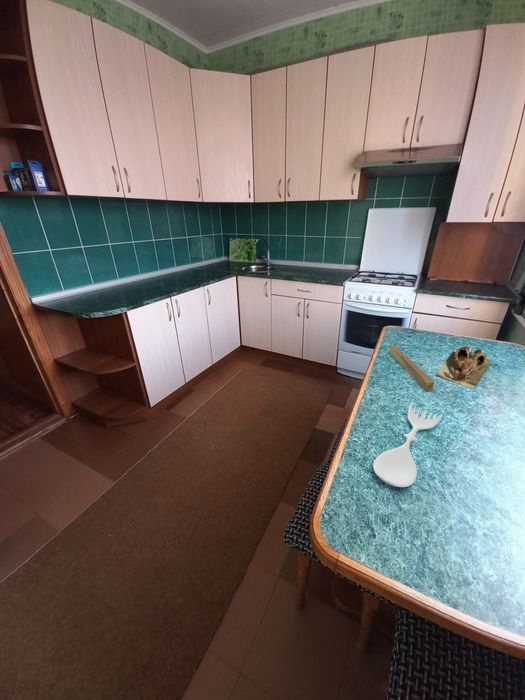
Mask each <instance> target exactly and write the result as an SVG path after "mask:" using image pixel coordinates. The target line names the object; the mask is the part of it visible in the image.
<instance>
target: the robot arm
mask: <svg viewBox="0 0 525 700" xmlns="http://www.w3.org/2000/svg"><path fill="white" fill-rule="evenodd" d="M512 293H513V294H515V295H517V298H516V300H515V303H514V304H515V306H514V308H513V312H512V314H514V315H516V316H519V317H520V316H522V315H523V312H524V311H525V265H524V266H523V271H522V273H521V275H520V277H519V279H518V281H517V284H516V286H515V287H514V289H513V292H512Z"/></svg>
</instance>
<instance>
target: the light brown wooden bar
mask: <svg viewBox="0 0 525 700" xmlns="http://www.w3.org/2000/svg"><path fill="white" fill-rule="evenodd" d="M389 354H390V356H392V357H393V358H394V359H395V361H396V362H397V363H398V364H399V365H400V366H401V367H402V368H403V369H404V370H405V371H406V372H407V373H408V375H410V376H411V377H412V379H414V381H415V382H416V383H417V384H419V386H420V387H421V388H422V389H423V390H424V391H425V392H432V391H433V389H434V385H435V381H434V380H432V378H430V377H429V375H428V374H427V373H425V372H424V371H423V370H422V368H420V367H419V365H417V364H416V363H415V362H414V361H413V360H412V359H411V358H410V357H409V356H407V354H405V352H404V351H403V350H402V349H400V348H399V347H398V346H397V344H391V345H390V347H389Z"/></svg>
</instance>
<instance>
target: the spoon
mask: <svg viewBox="0 0 525 700" xmlns="http://www.w3.org/2000/svg"><path fill="white" fill-rule="evenodd" d="M416 410H417V405H415V406H414V407H413V402H410V404H409V406H408V410H407V420H408V421H409V423H410V425H411V426H412V429H411V430H410V432H409V433H405V434H403V437H404V438H405V439H406V441H405V442H404V443H403V444H402V445H400V446H397V447H395V448H391V449H388V450H385V451H383V452H381V453H379V454H378V456H376V458H375V459H374V461H373V463H372V464H373V465H372V467H373V471H374V473H375V474H376V476H377V477H378V478H379V479H380V480H381V481H382V482H384V483H385V484H387V485H389V486H392V487H395V488H406V487H410V486H411V485H413V484H414V483H415V482H416V478H417V474H418V470H417V465H416V462H415V460H414V457H413V456H412V453H411V450H410V445H411V442H413V443H415V442H417V441H418V438H417V437H416V434H417V433H418V431H423V430H424V431H425V430H430V429H432V428H434V427H435V426H436V425H437V424H438V423H439V422H440V421H441V420H442V418H443V413H441V414H440V415H439V416H438V417H437V415H438V413H437V412H436V413H435V414H434V415H433V412H430V414H429V415H428V417H427V411H426V410H424V411H423V412H422V413H421V415H420V411H421V407H419V408H418V410H417V411H416ZM432 416H433V417H432ZM426 417H427V418H426Z"/></svg>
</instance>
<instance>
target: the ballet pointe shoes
mask: <svg viewBox="0 0 525 700" xmlns="http://www.w3.org/2000/svg"><path fill="white" fill-rule="evenodd" d="M492 361H493V359H492V358H487V356H486V353H485V351H484V350H483V349H481V348H480V349H476V350H474V351H473V350H472V348H471V347H470V346H461V347H459V348H458V349H453V351H452V352H451V353H450V354H449V356H448V357H447V359H446V360H445V362H443V364H442V365H441V367H440V368H439V369H438V371H437V372H436V373H435V376H436V377H438V378H442V379H445V380H448V381H451V382H453V383H457V384H460V385H462V386H465V387H468V388H470V389H475V388H476V387H477V384H478V383H479V382H480V380H481V378H482V377H483V376H484V374H485V372H486V371H487V369H488V368H489V366H490V364H491V362H492Z"/></svg>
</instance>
